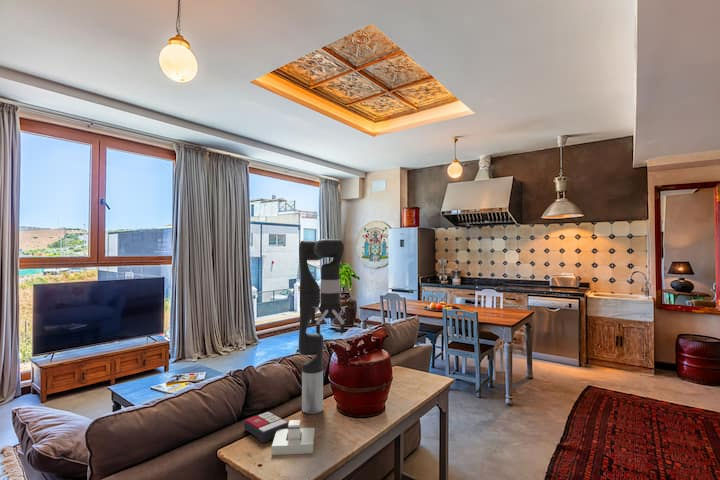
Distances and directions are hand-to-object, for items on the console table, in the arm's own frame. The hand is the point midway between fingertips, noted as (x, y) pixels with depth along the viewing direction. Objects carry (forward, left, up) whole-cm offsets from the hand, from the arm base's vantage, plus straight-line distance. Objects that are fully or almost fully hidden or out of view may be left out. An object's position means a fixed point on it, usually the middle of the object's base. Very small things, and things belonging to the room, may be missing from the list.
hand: (330, 334), depth 137 cm
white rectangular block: (+5, -13, -38) cm, 41 cm away
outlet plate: (+5, -13, -38) cm, 41 cm away
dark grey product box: (-6, -25, -38) cm, 46 cm away
